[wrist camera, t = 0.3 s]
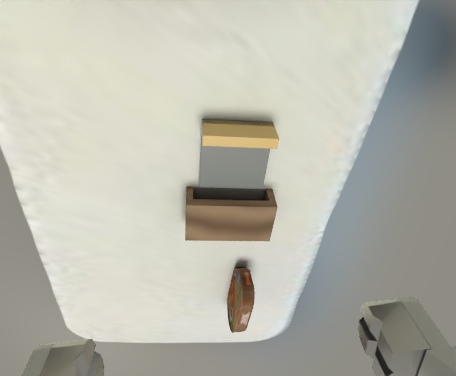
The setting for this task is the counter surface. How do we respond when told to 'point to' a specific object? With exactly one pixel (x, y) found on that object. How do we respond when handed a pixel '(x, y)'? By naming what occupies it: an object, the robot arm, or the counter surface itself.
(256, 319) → the counter surface
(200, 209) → the overhang shelf
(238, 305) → the tin
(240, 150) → the grey board with lip
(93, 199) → the counter surface
